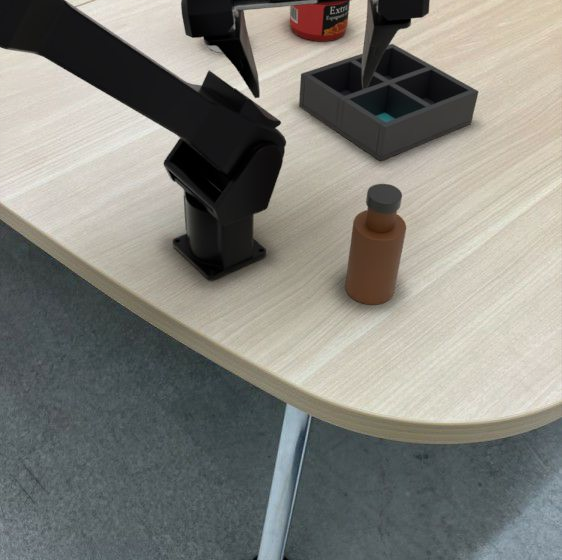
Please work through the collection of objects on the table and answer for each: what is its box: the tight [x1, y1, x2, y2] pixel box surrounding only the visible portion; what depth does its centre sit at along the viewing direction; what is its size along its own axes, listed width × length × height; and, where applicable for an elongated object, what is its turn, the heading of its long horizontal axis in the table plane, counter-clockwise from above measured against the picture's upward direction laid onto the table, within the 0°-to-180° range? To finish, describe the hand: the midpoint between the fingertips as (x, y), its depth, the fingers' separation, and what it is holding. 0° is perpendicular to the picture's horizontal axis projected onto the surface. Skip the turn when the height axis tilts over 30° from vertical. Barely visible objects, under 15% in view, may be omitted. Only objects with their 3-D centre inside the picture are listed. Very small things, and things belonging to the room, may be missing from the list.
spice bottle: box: [344, 183, 407, 305], centre depth 67 cm, size 4×4×10 cm
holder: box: [298, 43, 479, 162], centre depth 90 cm, size 14×14×4 cm
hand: (310, 90), depth 68 cm, fingers open, 9 cm apart
